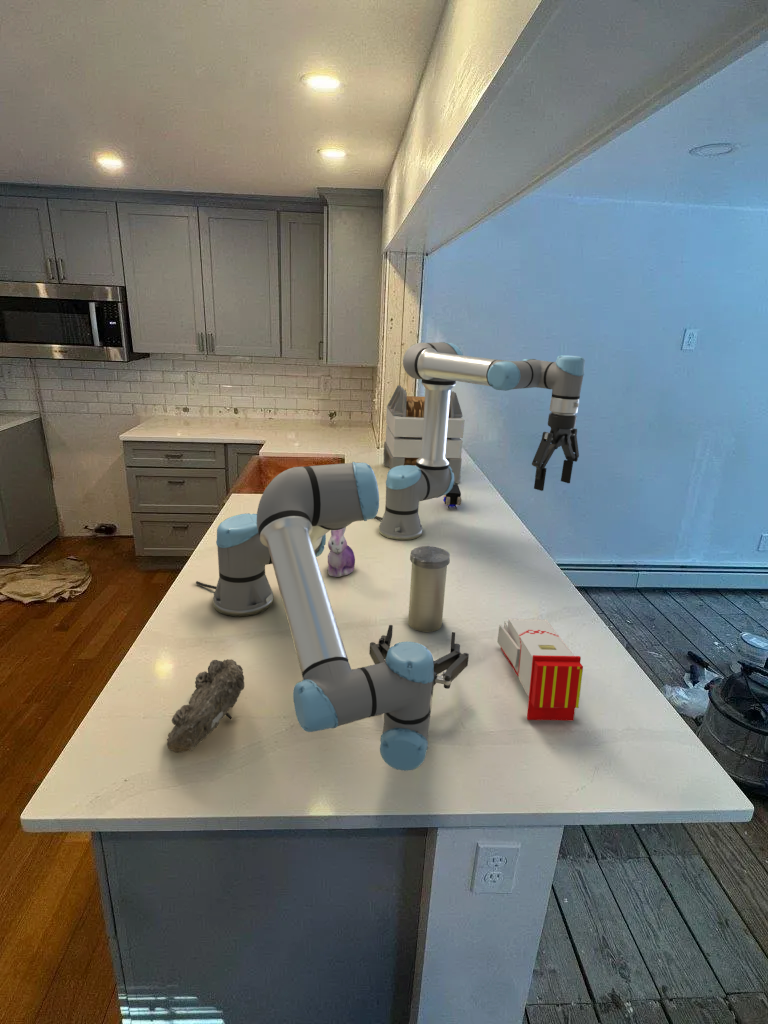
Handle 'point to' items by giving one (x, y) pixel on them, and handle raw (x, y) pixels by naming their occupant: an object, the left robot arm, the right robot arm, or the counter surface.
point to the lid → (430, 557)
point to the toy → (542, 668)
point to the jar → (426, 598)
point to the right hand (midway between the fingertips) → (552, 485)
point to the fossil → (206, 705)
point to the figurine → (340, 555)
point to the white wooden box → (419, 431)
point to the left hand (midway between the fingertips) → (421, 633)
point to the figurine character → (453, 497)
